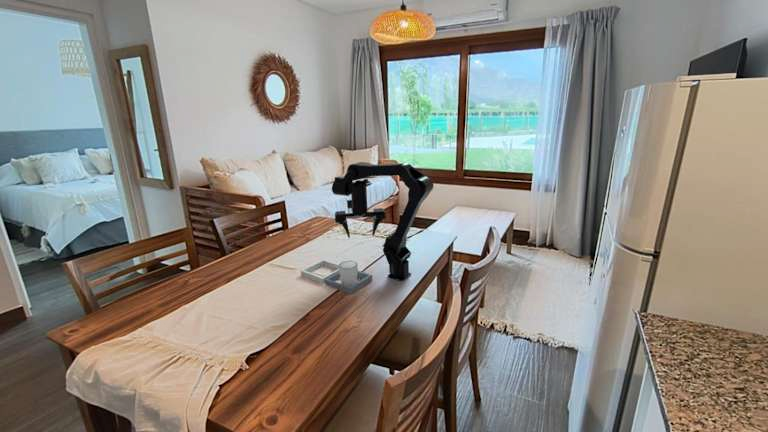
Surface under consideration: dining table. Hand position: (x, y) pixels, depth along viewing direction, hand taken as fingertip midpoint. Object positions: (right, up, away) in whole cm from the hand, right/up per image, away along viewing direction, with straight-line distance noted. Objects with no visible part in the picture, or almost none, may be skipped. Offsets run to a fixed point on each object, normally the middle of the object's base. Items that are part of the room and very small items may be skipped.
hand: (361, 236), depth 132 cm
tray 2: (-4, -16, -7) cm, 18 cm away
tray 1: (-14, -14, 0) cm, 20 cm away
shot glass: (-4, -16, -7) cm, 18 cm away
